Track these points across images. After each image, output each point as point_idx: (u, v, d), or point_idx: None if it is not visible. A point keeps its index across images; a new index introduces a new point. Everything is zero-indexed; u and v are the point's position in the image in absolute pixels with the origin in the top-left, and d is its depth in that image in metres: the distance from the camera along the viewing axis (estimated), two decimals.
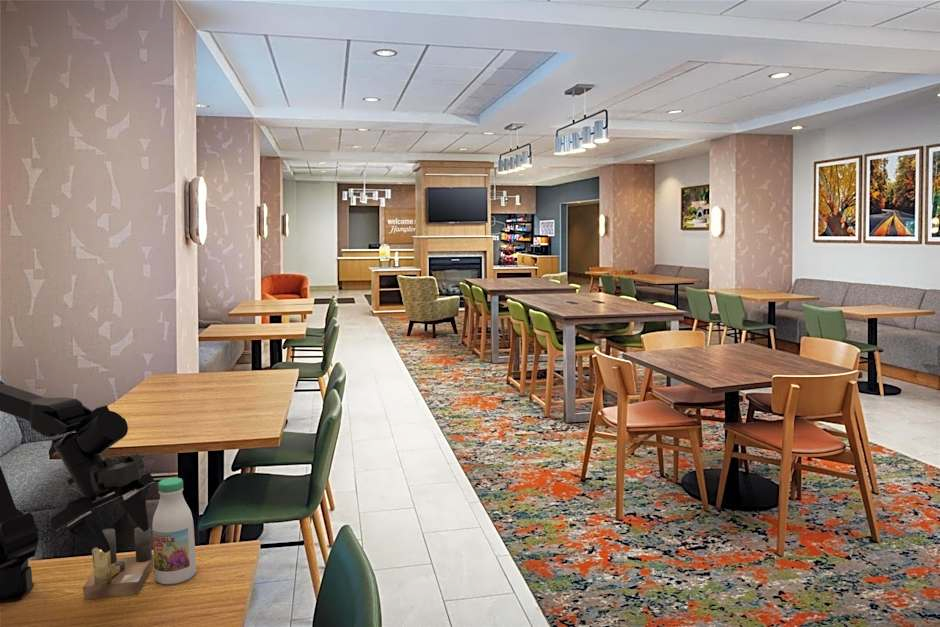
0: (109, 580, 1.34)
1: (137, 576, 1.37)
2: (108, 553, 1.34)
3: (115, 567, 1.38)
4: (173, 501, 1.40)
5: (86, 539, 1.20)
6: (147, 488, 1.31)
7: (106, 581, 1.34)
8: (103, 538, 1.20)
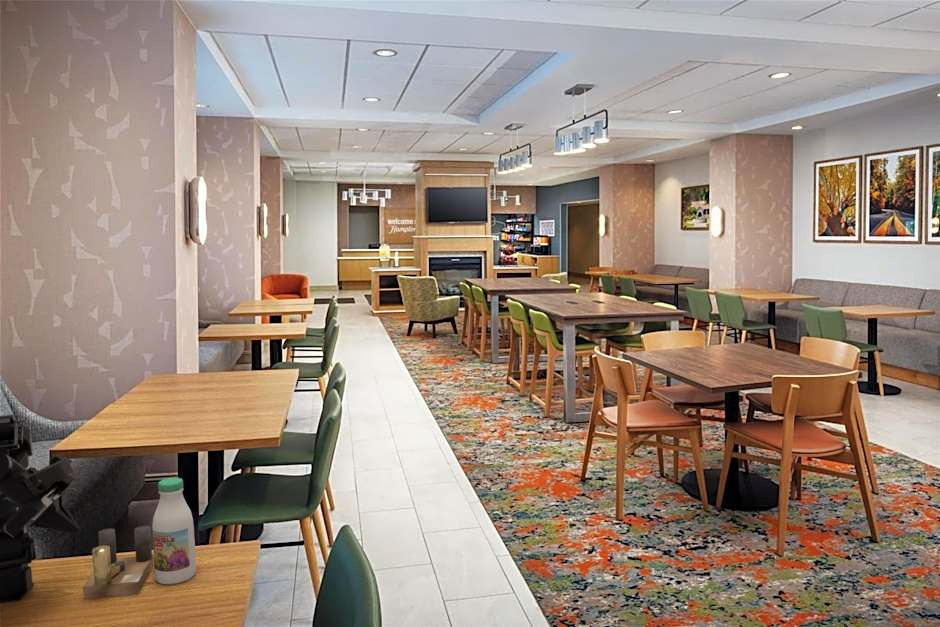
0: (109, 580, 1.34)
1: (137, 576, 1.37)
2: (108, 553, 1.34)
3: (115, 567, 1.38)
4: (173, 501, 1.40)
5: (53, 527, 1.31)
6: (64, 493, 1.35)
7: (106, 581, 1.34)
8: (70, 521, 1.32)
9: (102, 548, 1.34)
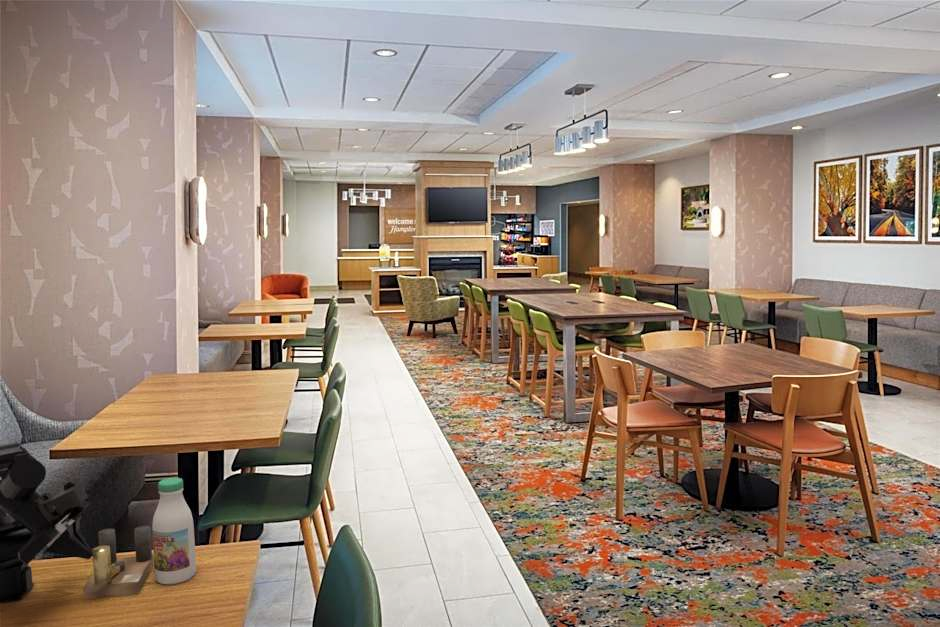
0: (109, 580, 1.34)
1: (137, 576, 1.37)
2: (108, 553, 1.34)
3: (115, 567, 1.38)
4: (173, 501, 1.40)
5: (67, 553, 1.32)
6: (78, 519, 1.35)
7: (106, 581, 1.34)
8: (84, 546, 1.33)
9: (102, 548, 1.34)
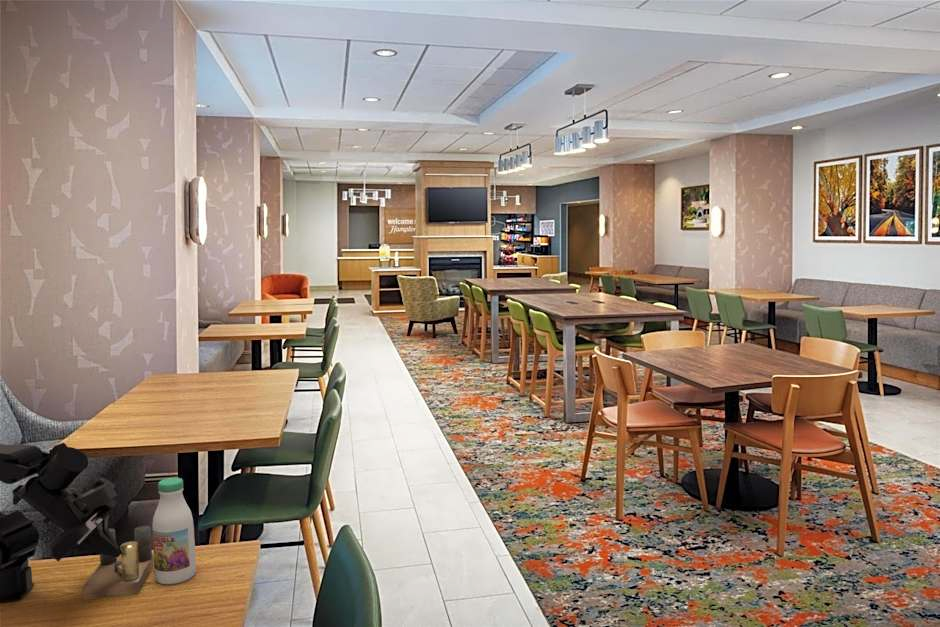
0: None
1: None
2: None
3: None
4: (173, 501, 1.40)
5: (96, 551, 1.33)
6: (107, 517, 1.36)
7: None
8: (113, 544, 1.34)
9: (129, 544, 1.36)
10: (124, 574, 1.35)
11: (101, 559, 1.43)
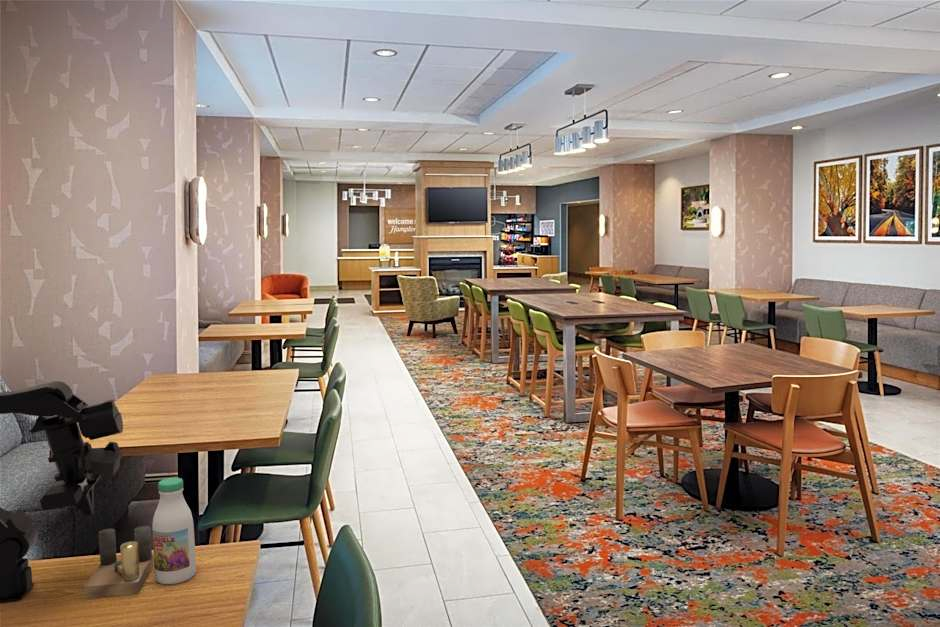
0: None
1: None
2: None
3: None
4: (173, 501, 1.40)
5: (74, 503, 1.39)
6: (99, 477, 1.42)
7: (139, 574, 1.37)
8: (90, 505, 1.40)
9: (129, 544, 1.36)
10: (124, 574, 1.35)
11: (101, 559, 1.43)
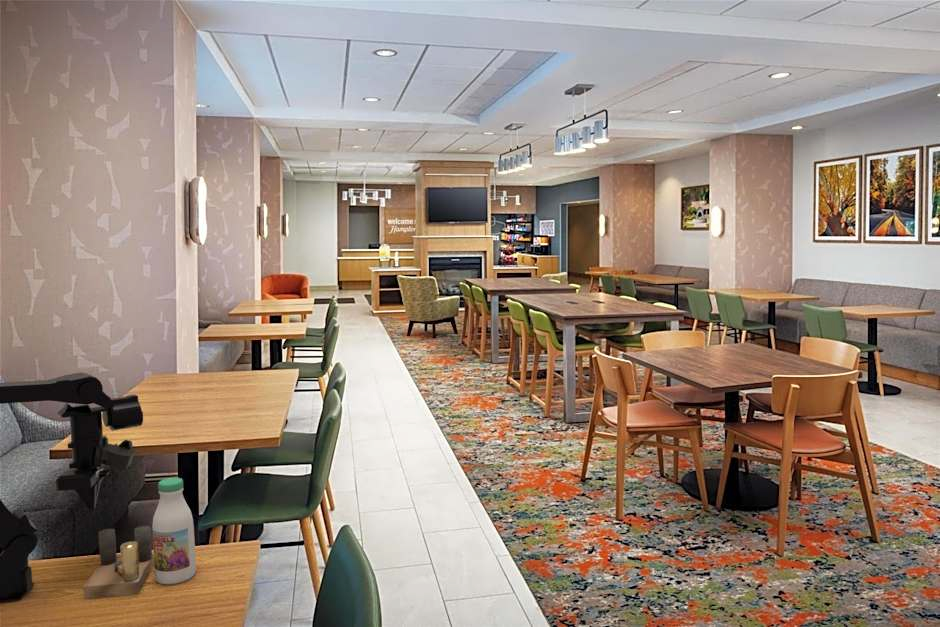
0: None
1: None
2: None
3: None
4: (173, 501, 1.40)
5: (80, 494, 1.43)
6: None
7: (139, 574, 1.37)
8: (95, 499, 1.44)
9: (129, 544, 1.36)
10: (124, 574, 1.35)
11: (101, 559, 1.43)
